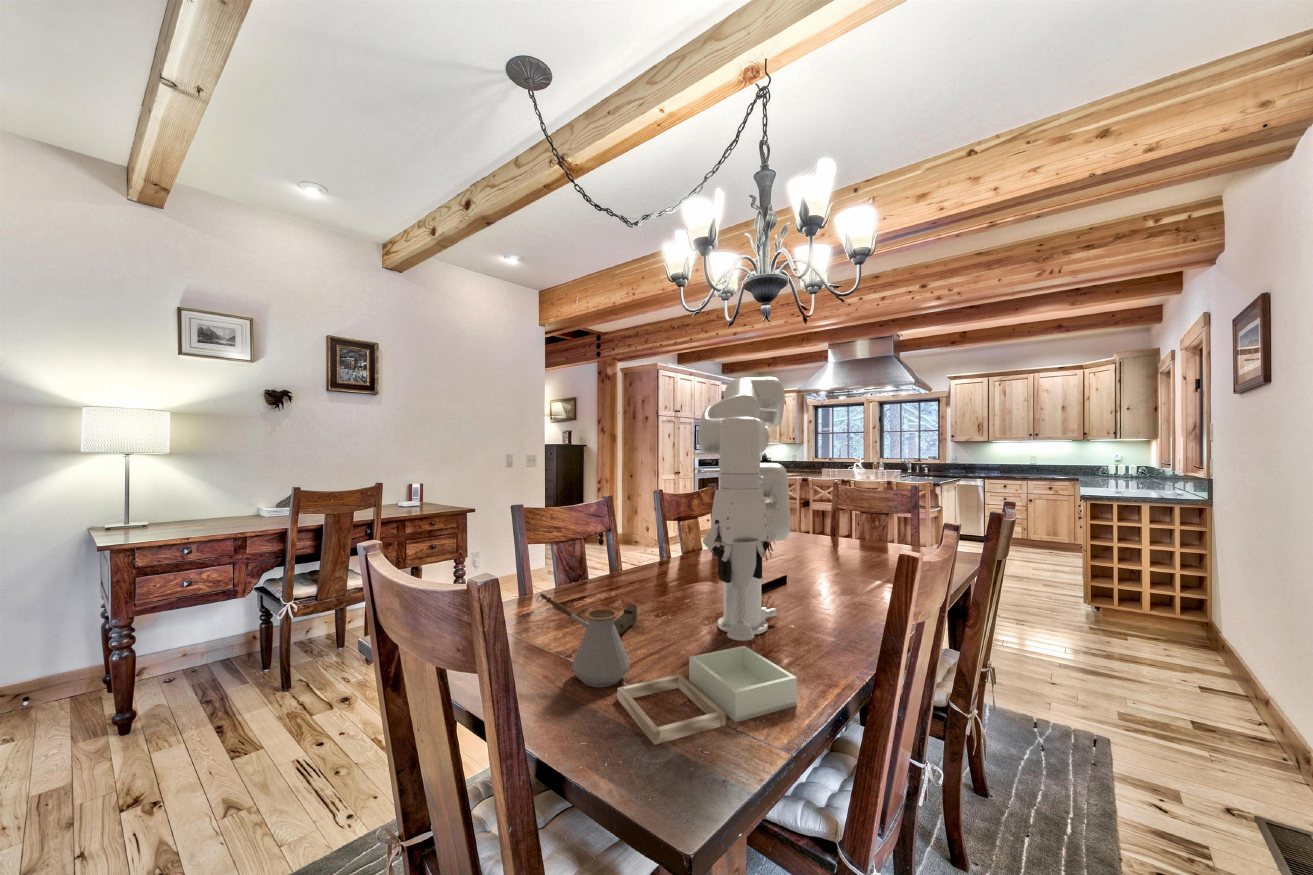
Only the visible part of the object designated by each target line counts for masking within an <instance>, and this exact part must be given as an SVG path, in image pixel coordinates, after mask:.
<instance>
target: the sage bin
mask: <svg viewBox="0 0 1313 875" xmlns="http://www.w3.org/2000/svg"><path fill="white" fill-rule="evenodd" d="M688 658H689V659H688V663H689V664H688V665H689V666H688V669H689V671H688V672H689V674H688V676H689V677H688V678H689V680H688V681H689V682H690V683H691V684H692V685H693V686H694V687H696V688H697V689H698V690H699V691H700V692H701V693H703V694H704V695H705V696H706V697H707V698H708V699H710V700H711V701H712V702H713V703H714V704H715V705H716V706H718V707H719V708H720V709H721V710H722V711H723V712H725V716H727V717H729V719H731V720H732V721H733V722H734V723H740V722H743V721H746V720H749V719H754V718H757V717H761V716H764V715H769V714H772V713H776V712H779V711H782V710H783V711H784V710H786V709H790V708H794V707H797V706H798V694H797V693H798V692H797V691H798V681H797V680H798V677H797V676H795V675H794V674H792V673H790V672H788V671H787V670H785V669H783V668H782V667H780V666H778V665H777V664H775V663H774V662H772V661H771V660H769V659H767V658H765V657H764V656H762V655H761V654H759V653H757V652H755V651H754V650H752V649H750V648H749V647H747V646H746V645H741V646H737V647H731V648H726V649H721V650H716V651H712V652H707V653H702V654H697V655H691V656H689V657H688Z"/></svg>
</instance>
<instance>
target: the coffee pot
mask: <svg viewBox="0 0 1313 875" xmlns="http://www.w3.org/2000/svg"><path fill="white" fill-rule="evenodd" d="M540 598H541V599H540ZM539 599H540V600H539ZM543 600H545V601H546V603H547V604H550V605H551V606H553V608H554V609H556V610H557V611H559V612H561V613H563V614H564V615H565V616H568V617H569V618H571V619H573V620H574V621H576V622H577V623H578V624H580V625H581V626H583V628H585V629H586V630H585V632H584V635H583V637H582V639H581V642H580V645H579V646H578V650H577V651H576V654H575V656H574V659H573V660H572V661H573V662H572V664H571V666H572V671H573V673H574V674H575V676H576V677H577V679H579V681H580V680H581V682H582V683H583V684H585V685H586V686H589V687H593V688H605V687H611V686H613V685H616V684H618V683H619V682H620V681H621V679H622V678H623V677H625V675H626V674H627V673H628V671H629V669H630V667H631V666H630V665H631V662H630V658H629V656H628V654H627V652H626V651H627V650H626V649H625V647H624V644H623V641H622V639H621V637H620V636H619V634H618V632H617V629H616V627H615V625H614V621H615V620H616V619H617V618H618V612H617V611H616V610H614V609H611V608H596V609H592V610H588V611H586V613H585V614H584V617H585V618H586V619H587V621H585V620H583V619H582V618H580V617H578V616H577V615H575V614H573V612H571V611H570V610H569V609H568V608H566V607H565V606H564V605H562V604H561V603H559V602H558V601H555V600H554V599H552V597H550V596H549V597H548V596H547V595H546V594H544V593H540V595H539V596H538V597H537V598H536V602H538V603H541V602H542V601H543Z"/></svg>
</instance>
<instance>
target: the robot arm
mask: <svg viewBox="0 0 1313 875" xmlns="http://www.w3.org/2000/svg"><path fill="white" fill-rule="evenodd" d="M785 392H786V391H785V388H784V385H783V383H782V382H781V380H780V379H778V378H777V377H773V376H759V377H740V378H735V379H733V380H731V381H730V382H729V383H728V384H727V385H726V386H725V388H724V394H723V398H722V399H721V400H719V401H718V402H716V403H713V404H712V405H709V406H708V407H707V408H706V409H705V410H704V411H703V412H702V414H701V416H700V421H699V423H698V424H699V425H698V428H697V429H698V430H697V442H698V447H699V449H700V451H701V452H702V453H703V454H706V455H710V456H719V490H718V489H716V490H715V493H714V497H713V501H712V509H711V521H710V530H709V531H708V533H707V534H706V535H705V537H704V538H703V539H702V544H704V546H705V547H706V548H707V549H709V552H710V553H711V554H712V555H713V556H714V558H715V559H717V576H718V580H719V581H721V582H723V616H722V617H720V618H718V620H717V627H718V628H719V630H721V631H723V632H725V633H728V632H729V628H730V627H731V624H732V623H733V622H734V621H736V620H737V619H738V612H737V610H736V608H737V607H738V601H737V600H736V598H737V596H738V589H737V588H735V587H733V585H732V583H731V562H730V561H728V558H729V555H730V552H731V549H732V545H733V542H753V541H757V540H758V542H757V544H756V568H755V571H754V574H753V577H752V579H751V581H750V583H749V585H748V587H747V588H744V589H743V597H744V599H745V600H744V601H743V607H744V608H745V610H744V612H743V619H744V620H745V621H746V622H748V623H749V625H750V626H751V627H750V628H751V629H752V633H753V634H754V636H756V635H761V634H763V633H765V632H766V631H768V629H769V624H768V622H767V621H766V619H768V618H769V617H770V618H771V617H772V618H773V617H777V615H778V611H777V609H776V608H775V607H774V608H772V607H771V608H768V609H767V607H765V606H764V607H762V578H763V558H764V557H765V556H766V552H767V550H768V549H769V547H770V545H771V544H772V542H783V541H785V540H787V538H789V536H790V533H791V509H790V508H791V507H790V489H789V487H790V486H789V478H788V477H789V476H788V473H787V469H786V468H785V466H783V465H782V464H780V463H776V462H761V454H763V453H764V452H765V451H766V449H767V448H768V447H769V445H770V429H771V428H777V427H778V426H780V424H781V423H782V421H783V418H784V410H785V409H784V408H785V404H786V402H785V401H786V394H785ZM765 500H768V501H769V502H766V501H765ZM716 543H718V545H716Z"/></svg>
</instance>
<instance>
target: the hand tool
mask: <svg viewBox="0 0 1313 875" xmlns="http://www.w3.org/2000/svg"><path fill="white" fill-rule="evenodd" d="M637 610H638V607H637V605H636V604H631V605H629V606H627V607H625V608H624V609H623V613H622V614H621V615H620V616H619V617H617V618H615V621H614V625H615V627H616V629H617V632H618V634H619V637H620V636H621V635H622V634H623V633H624V632H625V631H626V630H628V628H630V627H633V626H635V625H636V622H637V619H638V615H637V614H638V611H637Z"/></svg>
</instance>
